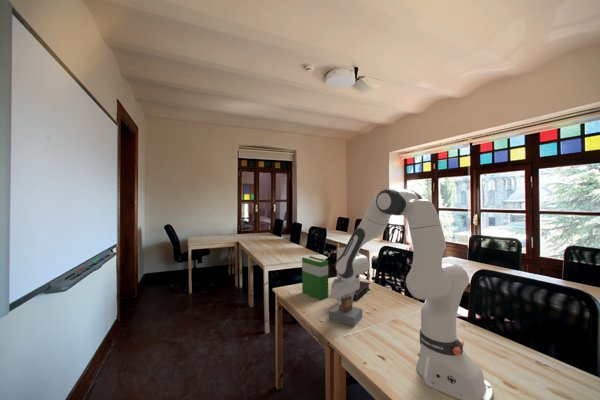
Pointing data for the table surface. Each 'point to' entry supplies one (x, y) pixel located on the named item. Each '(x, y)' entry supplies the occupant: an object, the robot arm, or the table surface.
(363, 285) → the diary
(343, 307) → the walnut block
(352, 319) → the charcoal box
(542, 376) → the table surface
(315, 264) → the green cereal box
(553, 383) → the table surface
